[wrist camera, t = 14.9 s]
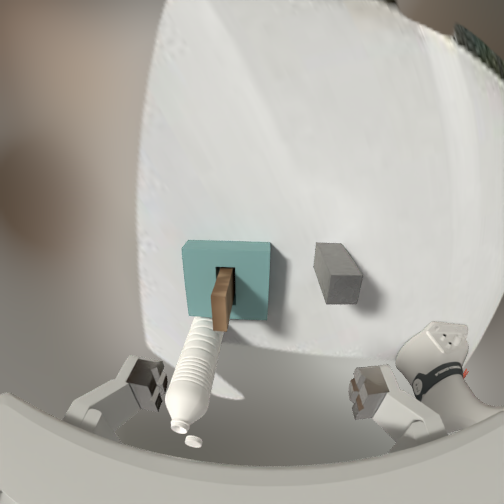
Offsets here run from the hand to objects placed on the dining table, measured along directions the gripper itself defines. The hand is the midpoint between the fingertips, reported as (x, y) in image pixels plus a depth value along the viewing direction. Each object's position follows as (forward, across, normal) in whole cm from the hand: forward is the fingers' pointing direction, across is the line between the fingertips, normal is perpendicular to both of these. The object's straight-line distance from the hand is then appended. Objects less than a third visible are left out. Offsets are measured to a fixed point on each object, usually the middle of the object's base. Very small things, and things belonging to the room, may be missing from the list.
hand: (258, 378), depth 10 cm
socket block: (+35, -6, -14) cm, 38 cm away
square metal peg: (+35, +11, -9) cm, 38 cm away
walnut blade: (+35, -6, -14) cm, 38 cm away
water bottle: (+35, -10, -26) cm, 45 cm away
